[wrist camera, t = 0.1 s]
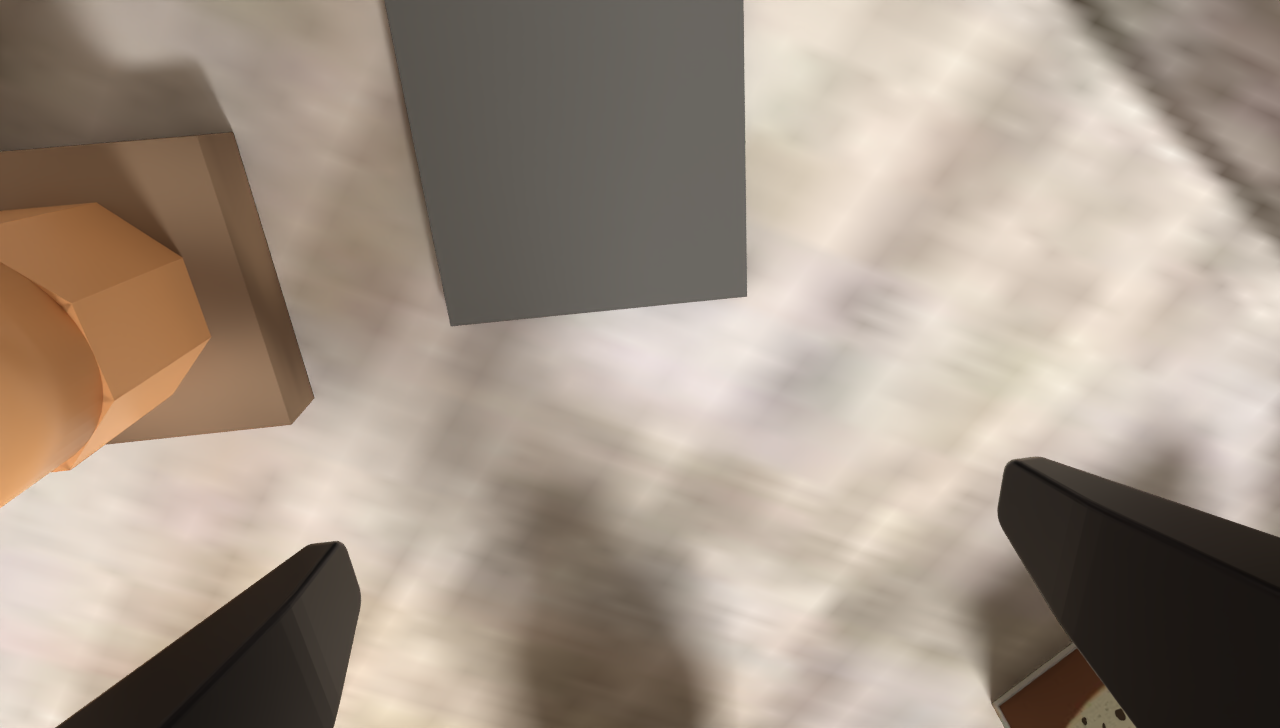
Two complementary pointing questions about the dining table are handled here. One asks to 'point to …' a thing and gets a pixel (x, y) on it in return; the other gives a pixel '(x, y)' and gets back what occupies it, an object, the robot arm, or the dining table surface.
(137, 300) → the orange rounded bulb shape
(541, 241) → the mat
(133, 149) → the post stand
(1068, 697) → the food container
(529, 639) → the dining table surface
